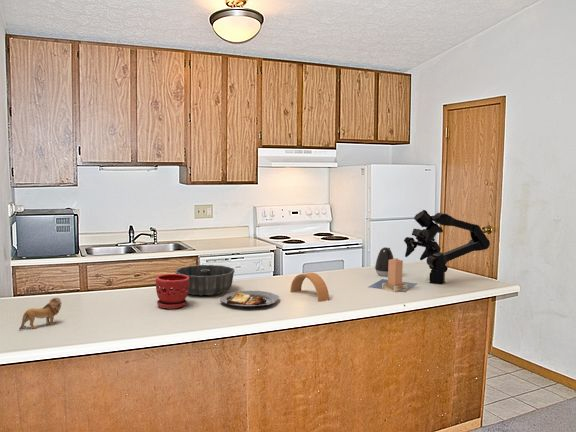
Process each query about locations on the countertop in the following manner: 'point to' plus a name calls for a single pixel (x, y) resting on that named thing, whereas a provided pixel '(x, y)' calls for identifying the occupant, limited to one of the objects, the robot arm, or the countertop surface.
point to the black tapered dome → (383, 261)
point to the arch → (317, 282)
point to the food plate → (244, 298)
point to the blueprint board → (379, 283)
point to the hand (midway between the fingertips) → (412, 258)
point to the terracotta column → (395, 272)
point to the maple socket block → (394, 289)
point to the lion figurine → (42, 313)
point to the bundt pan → (207, 278)
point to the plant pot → (172, 290)
